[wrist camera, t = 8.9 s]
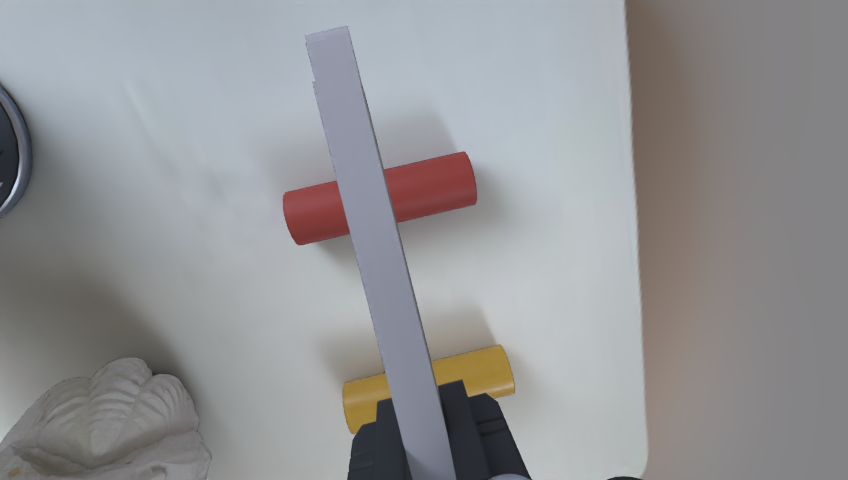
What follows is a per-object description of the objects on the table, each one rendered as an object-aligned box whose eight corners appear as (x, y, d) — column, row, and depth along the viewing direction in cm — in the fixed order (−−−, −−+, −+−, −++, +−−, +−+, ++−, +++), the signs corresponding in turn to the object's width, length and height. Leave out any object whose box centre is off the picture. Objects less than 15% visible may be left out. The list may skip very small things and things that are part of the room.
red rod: (306, 239, 24) (294, 251, 21) (291, 190, 23) (277, 194, 20) (469, 201, 24) (480, 207, 21) (459, 151, 23) (469, 150, 21)
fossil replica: (207, 329, 25) (52, 354, 25) (94, 403, 16) (-136, 438, 17) (250, 505, 26) (103, 525, 26) (168, 653, 18) (-44, 680, 18)
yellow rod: (357, 413, 26) (353, 445, 23) (345, 373, 26) (340, 401, 23) (504, 376, 27) (518, 403, 24) (496, 336, 26) (509, 358, 23)
